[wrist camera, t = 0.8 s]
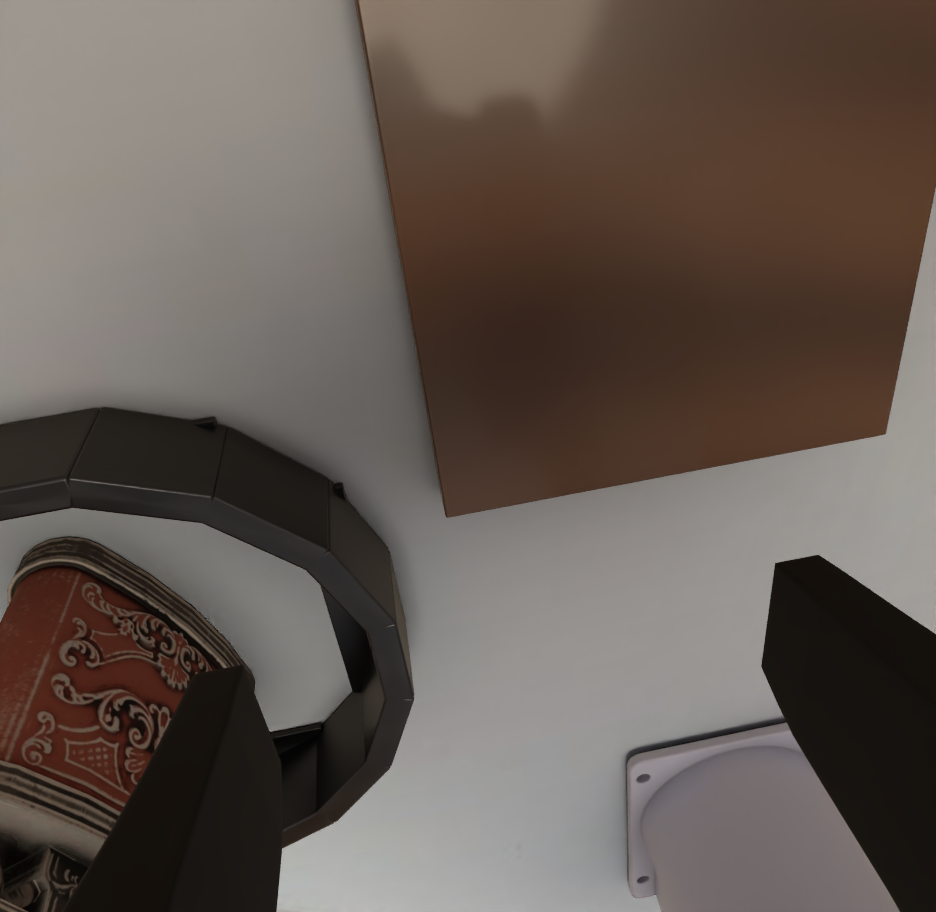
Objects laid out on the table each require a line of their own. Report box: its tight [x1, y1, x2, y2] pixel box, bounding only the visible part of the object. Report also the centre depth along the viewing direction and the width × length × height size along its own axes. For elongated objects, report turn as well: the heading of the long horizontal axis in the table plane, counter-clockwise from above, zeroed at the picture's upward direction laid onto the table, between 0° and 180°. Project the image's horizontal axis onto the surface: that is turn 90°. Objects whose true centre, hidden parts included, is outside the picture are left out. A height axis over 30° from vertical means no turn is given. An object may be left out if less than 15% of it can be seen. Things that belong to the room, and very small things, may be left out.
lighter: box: [0, 537, 255, 912], centre depth 19 cm, size 8×3×10 cm, turn 30°
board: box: [355, 0, 936, 518], centre depth 16 cm, size 20×12×1 cm, turn 7°
